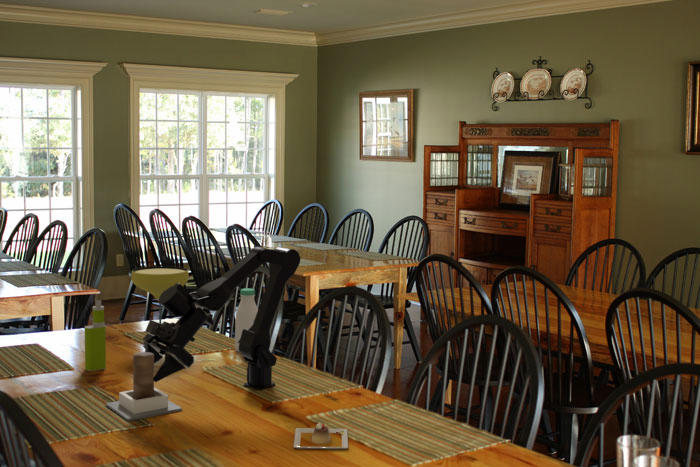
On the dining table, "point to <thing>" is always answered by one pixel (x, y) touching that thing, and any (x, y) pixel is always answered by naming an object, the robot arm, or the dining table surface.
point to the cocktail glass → (158, 279)
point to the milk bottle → (245, 314)
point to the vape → (96, 340)
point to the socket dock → (142, 405)
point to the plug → (143, 375)
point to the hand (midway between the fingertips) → (146, 376)
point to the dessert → (320, 436)
